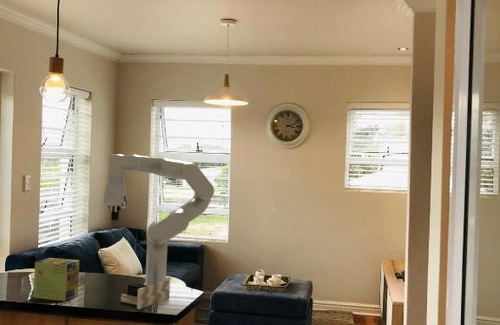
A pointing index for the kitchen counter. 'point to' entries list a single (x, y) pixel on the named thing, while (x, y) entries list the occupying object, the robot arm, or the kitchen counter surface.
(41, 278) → the protein box
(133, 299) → the display bay
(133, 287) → the digital camera
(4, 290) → the kitchen counter surface
